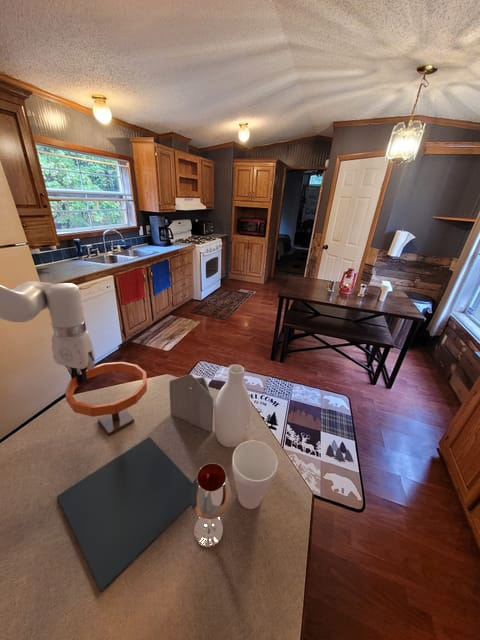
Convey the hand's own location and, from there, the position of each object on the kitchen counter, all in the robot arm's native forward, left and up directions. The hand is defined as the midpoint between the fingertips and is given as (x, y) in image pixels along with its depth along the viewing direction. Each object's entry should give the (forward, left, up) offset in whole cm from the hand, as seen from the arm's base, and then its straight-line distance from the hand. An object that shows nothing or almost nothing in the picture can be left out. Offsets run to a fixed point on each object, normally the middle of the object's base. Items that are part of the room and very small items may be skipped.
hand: (80, 381), depth 77 cm
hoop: (+9, +5, -1) cm, 10 cm away
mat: (+34, -3, -13) cm, 37 cm away
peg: (+9, +5, -13) cm, 17 cm away
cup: (+55, +17, -14) cm, 59 cm away
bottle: (+39, +27, -14) cm, 49 cm away
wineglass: (+53, +5, -14) cm, 55 cm away
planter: (+25, +25, -14) cm, 38 cm away
